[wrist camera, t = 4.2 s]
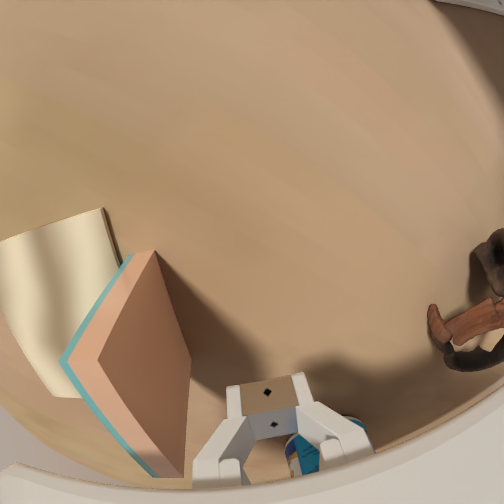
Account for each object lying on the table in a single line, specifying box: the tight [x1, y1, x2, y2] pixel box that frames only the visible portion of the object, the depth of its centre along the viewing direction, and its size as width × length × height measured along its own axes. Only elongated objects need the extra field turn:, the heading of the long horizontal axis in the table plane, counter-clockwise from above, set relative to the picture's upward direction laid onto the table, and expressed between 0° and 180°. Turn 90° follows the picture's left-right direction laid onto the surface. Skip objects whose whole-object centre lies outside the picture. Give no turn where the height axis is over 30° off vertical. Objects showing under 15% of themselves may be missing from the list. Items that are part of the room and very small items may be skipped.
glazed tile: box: [58, 250, 192, 478], centre depth 13 cm, size 2×8×9 cm, turn 10°
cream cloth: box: [0, 207, 120, 398], centre depth 16 cm, size 12×14×1 cm
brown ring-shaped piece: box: [427, 228, 504, 372], centre depth 16 cm, size 12×9×8 cm
